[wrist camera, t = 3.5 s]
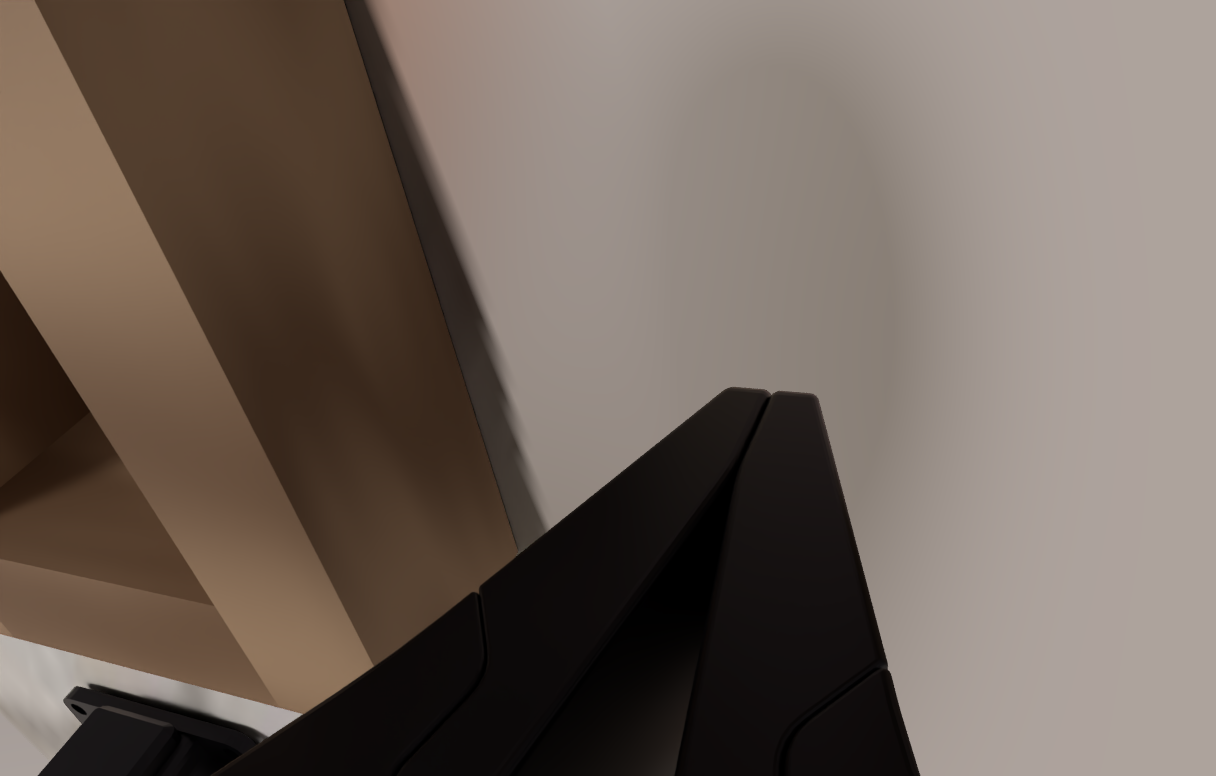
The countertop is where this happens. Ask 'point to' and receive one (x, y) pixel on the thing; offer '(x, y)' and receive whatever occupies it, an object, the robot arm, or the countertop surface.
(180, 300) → the socket block
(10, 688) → the countertop surface
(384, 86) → the countertop surface
